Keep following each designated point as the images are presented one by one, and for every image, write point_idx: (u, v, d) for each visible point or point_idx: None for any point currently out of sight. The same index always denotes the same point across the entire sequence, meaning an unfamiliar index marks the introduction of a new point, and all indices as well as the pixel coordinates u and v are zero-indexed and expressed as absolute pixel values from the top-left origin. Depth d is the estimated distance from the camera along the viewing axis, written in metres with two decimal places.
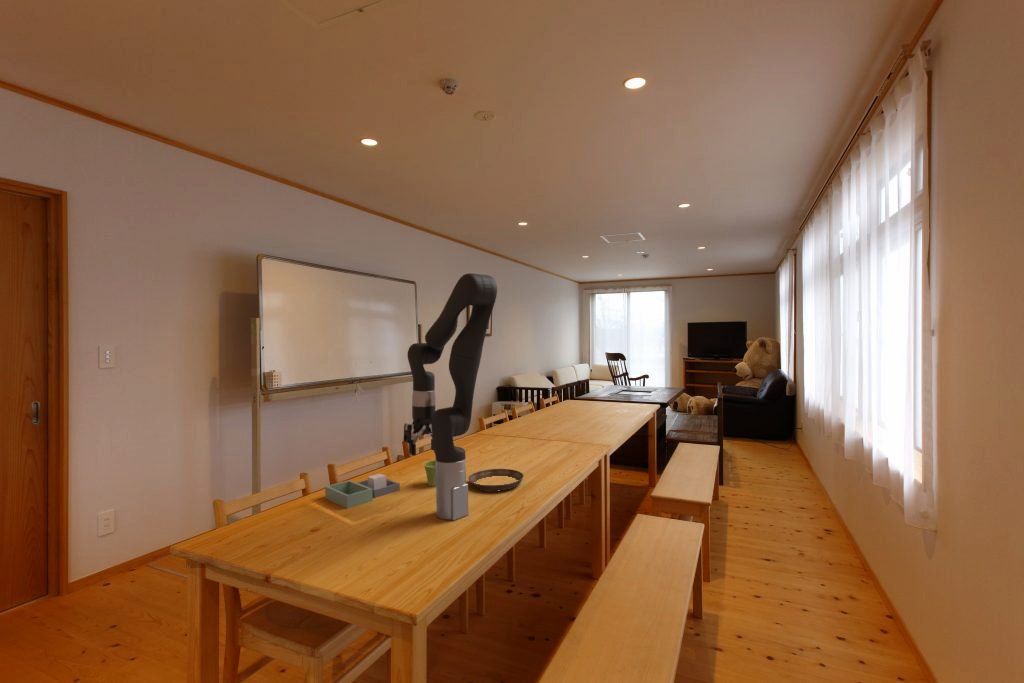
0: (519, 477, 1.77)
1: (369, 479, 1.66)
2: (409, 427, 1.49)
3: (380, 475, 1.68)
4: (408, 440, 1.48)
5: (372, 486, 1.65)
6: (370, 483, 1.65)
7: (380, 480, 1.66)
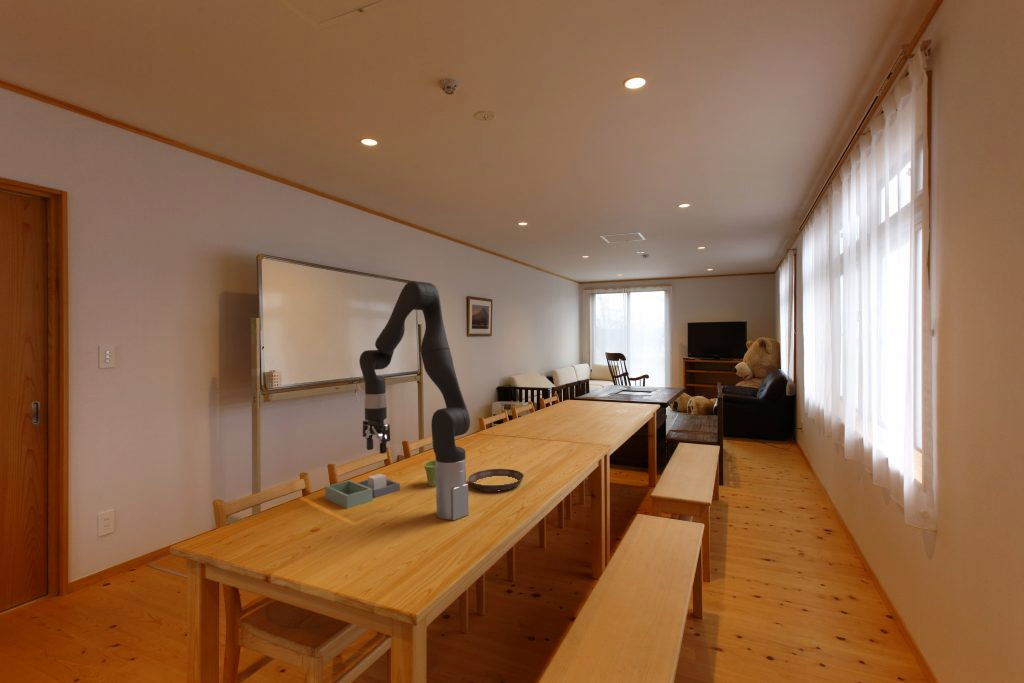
0: (519, 477, 1.77)
1: (369, 479, 1.66)
2: None
3: (380, 475, 1.68)
4: (389, 438, 1.63)
5: (372, 486, 1.65)
6: (370, 483, 1.65)
7: (380, 480, 1.66)
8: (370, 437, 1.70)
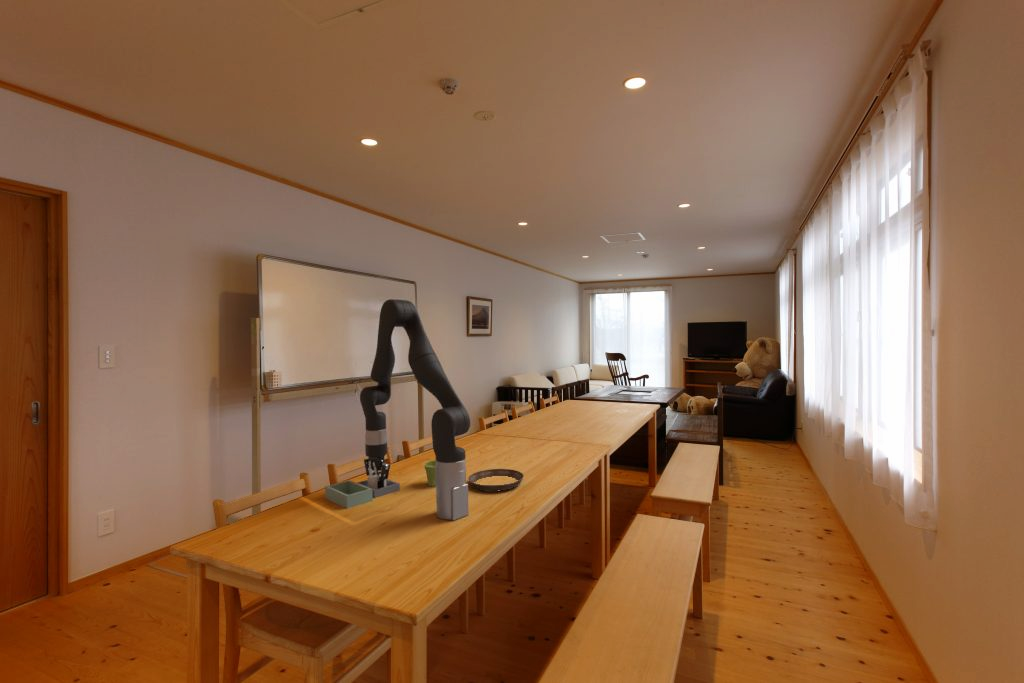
0: (519, 477, 1.77)
1: (369, 479, 1.66)
2: None
3: (380, 475, 1.68)
4: None
5: (372, 486, 1.65)
6: (370, 483, 1.65)
7: None
8: None
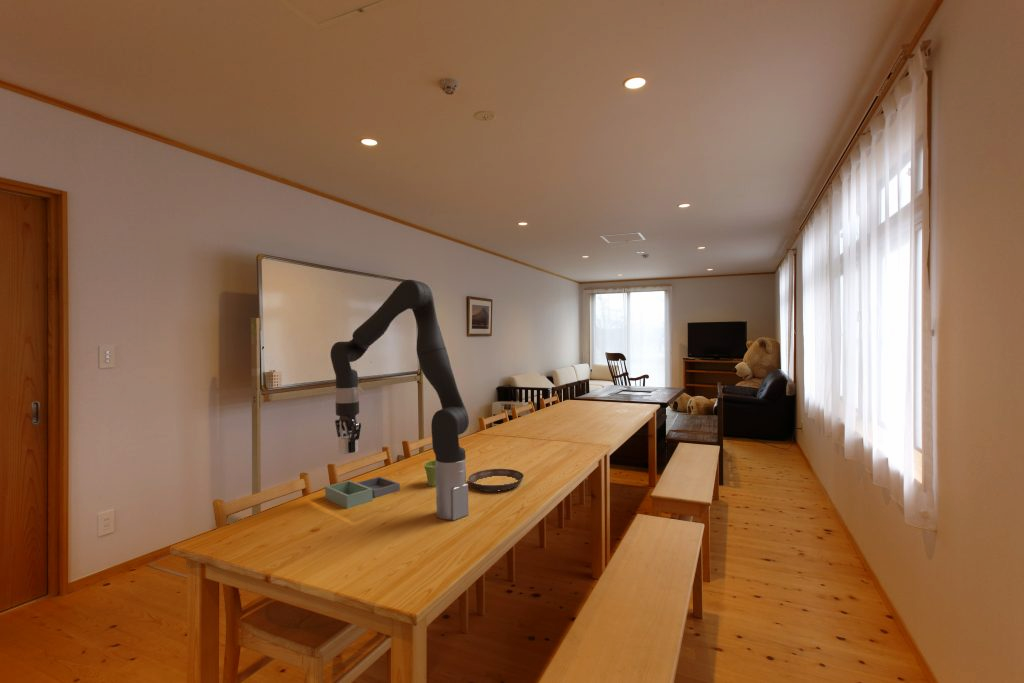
0: (519, 477, 1.77)
1: (339, 440, 1.57)
2: None
3: None
4: None
5: (342, 447, 1.56)
6: (340, 444, 1.56)
7: None
8: None
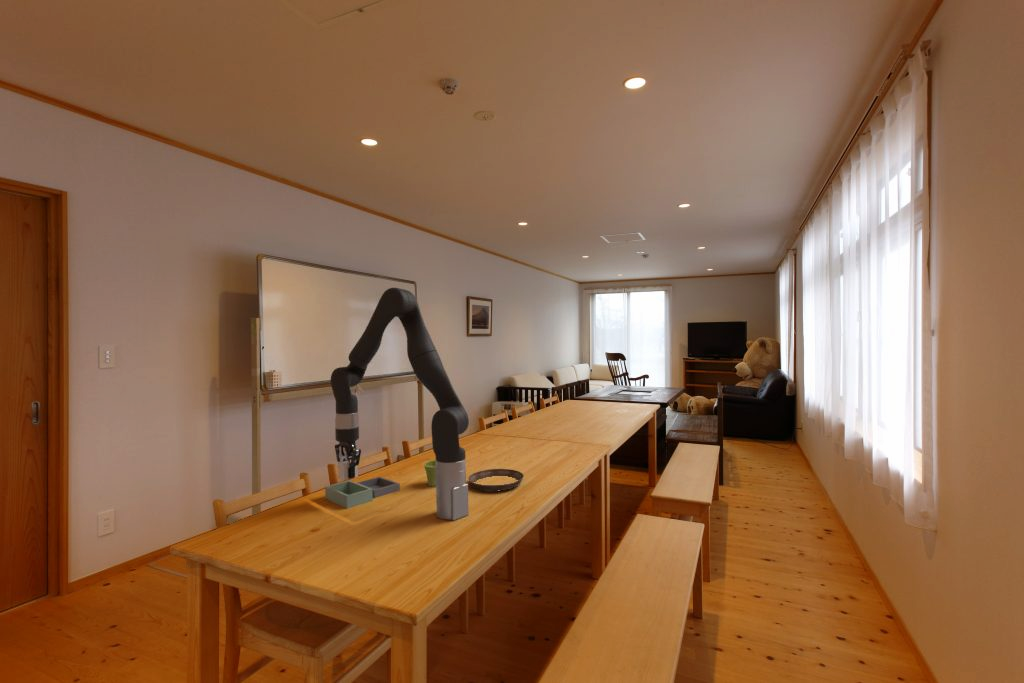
0: (519, 477, 1.77)
1: (339, 465, 1.57)
2: None
3: None
4: None
5: (342, 473, 1.55)
6: (340, 469, 1.56)
7: None
8: None
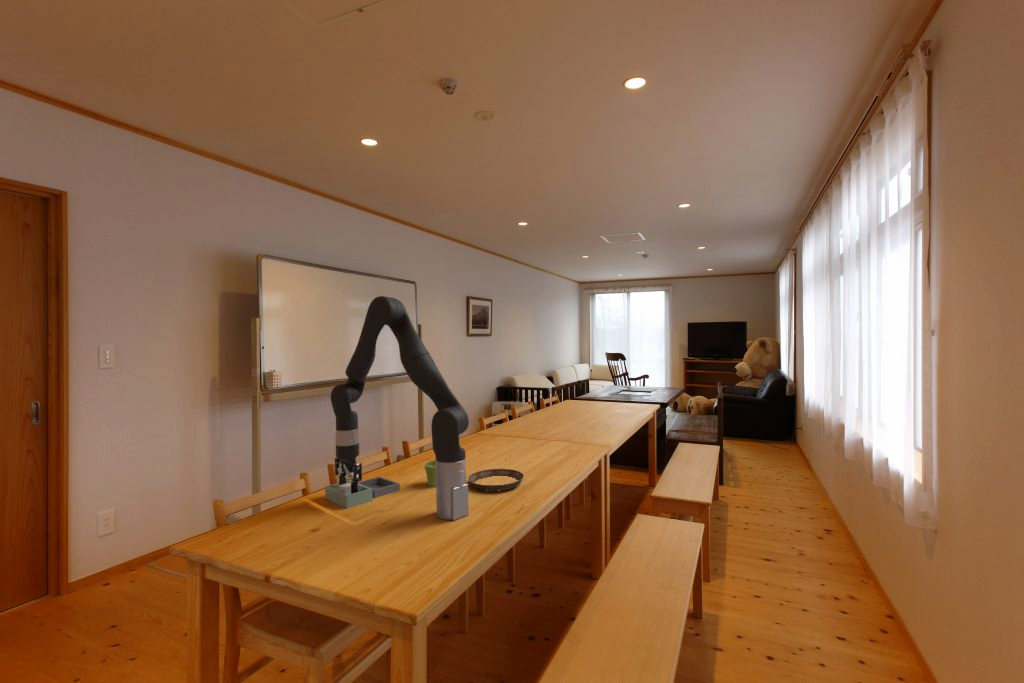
0: (519, 477, 1.77)
1: (340, 488, 1.57)
2: None
3: None
4: None
5: None
6: None
7: None
8: (343, 475, 1.61)
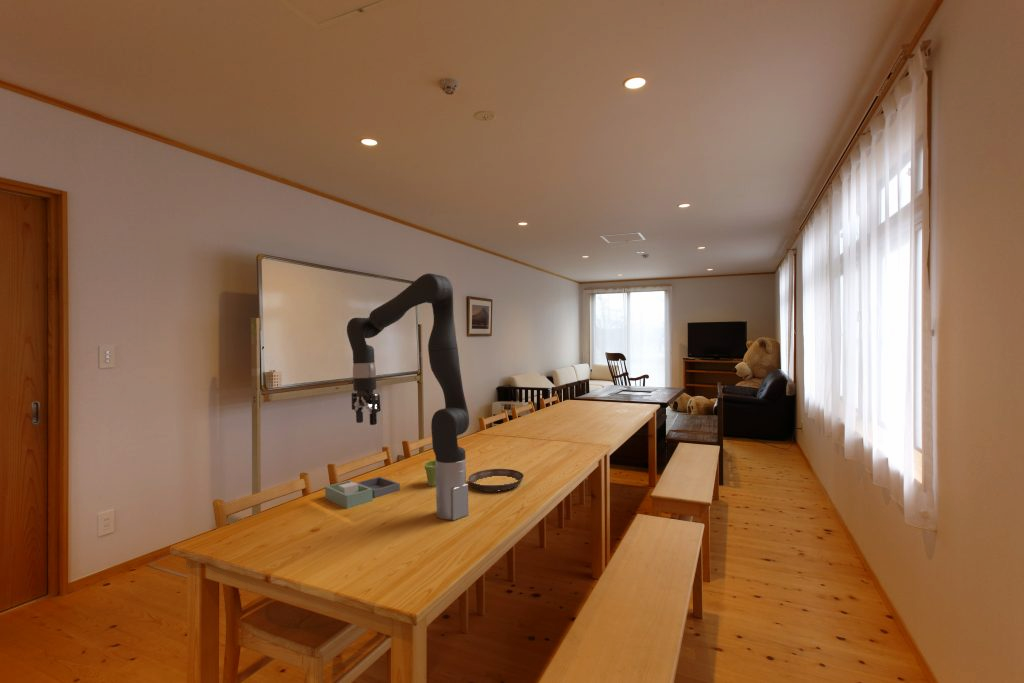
0: (519, 477, 1.77)
1: (340, 488, 1.57)
2: None
3: (352, 483, 1.59)
4: None
5: None
6: None
7: (351, 489, 1.57)
8: (359, 410, 1.63)
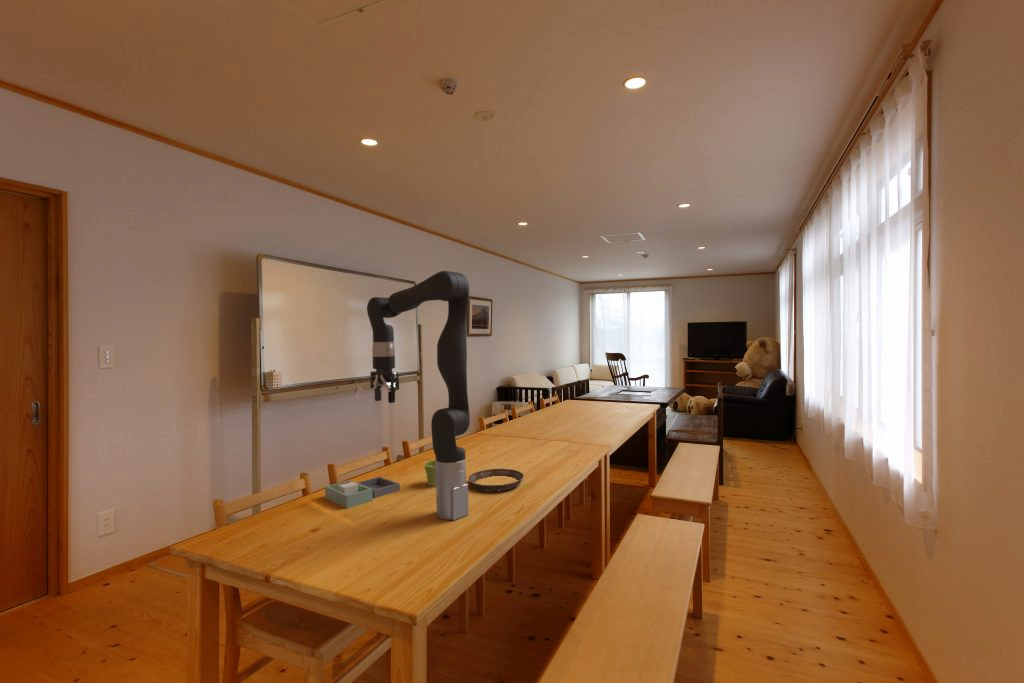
0: (519, 477, 1.77)
1: (340, 488, 1.57)
2: None
3: (352, 483, 1.59)
4: None
5: None
6: None
7: (351, 489, 1.57)
8: (378, 388, 1.66)
